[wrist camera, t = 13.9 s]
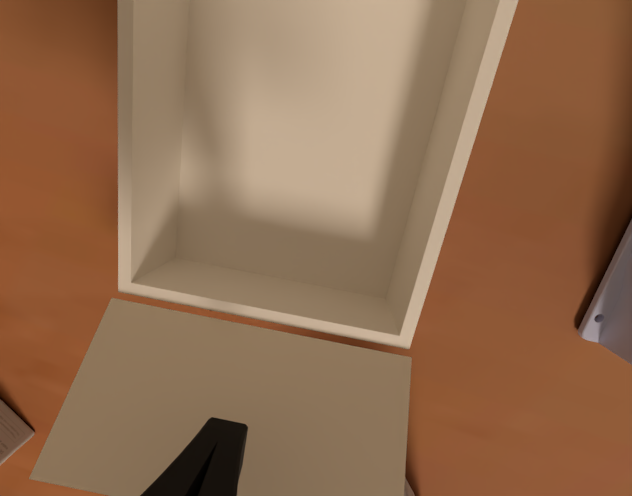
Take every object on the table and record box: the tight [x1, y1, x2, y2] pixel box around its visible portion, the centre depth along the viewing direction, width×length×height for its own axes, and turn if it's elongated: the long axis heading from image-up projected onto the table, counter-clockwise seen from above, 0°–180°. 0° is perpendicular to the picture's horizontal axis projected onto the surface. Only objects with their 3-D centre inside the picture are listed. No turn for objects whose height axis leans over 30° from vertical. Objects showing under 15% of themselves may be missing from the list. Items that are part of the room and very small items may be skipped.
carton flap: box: [29, 298, 412, 496], centre depth 12 cm, size 7×14×1 cm
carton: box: [118, 0, 518, 349], centre depth 13 cm, size 20×14×4 cm
